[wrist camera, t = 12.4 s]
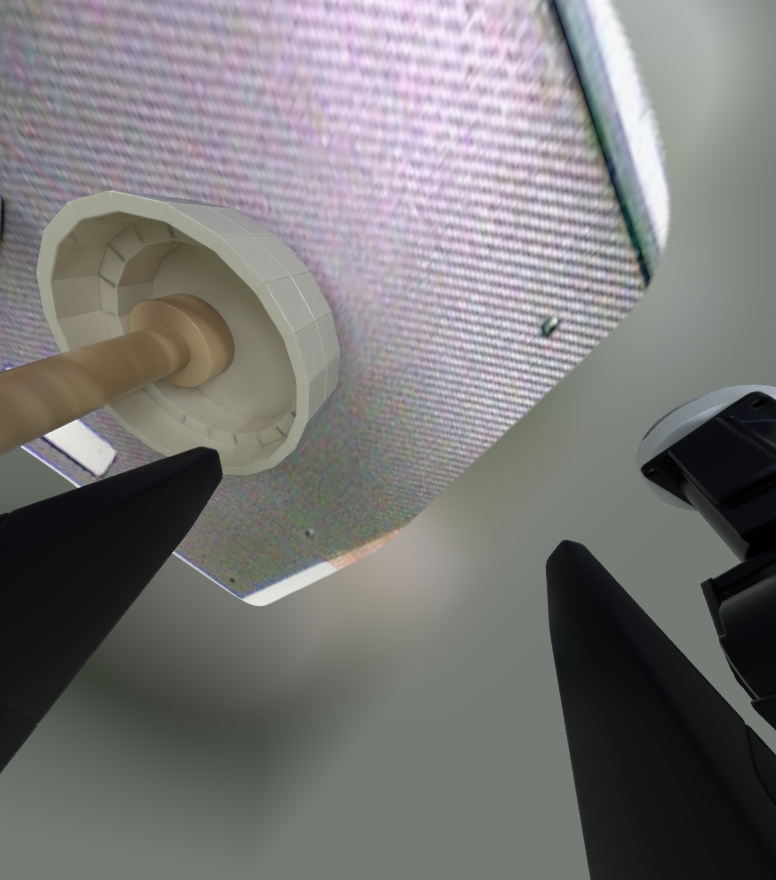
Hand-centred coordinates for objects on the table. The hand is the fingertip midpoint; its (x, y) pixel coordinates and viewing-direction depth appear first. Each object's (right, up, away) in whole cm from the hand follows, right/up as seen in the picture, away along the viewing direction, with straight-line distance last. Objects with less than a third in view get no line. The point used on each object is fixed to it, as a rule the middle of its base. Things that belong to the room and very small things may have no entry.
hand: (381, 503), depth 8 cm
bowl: (-10, +8, +13) cm, 18 cm away
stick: (-12, +9, +12) cm, 20 cm away
